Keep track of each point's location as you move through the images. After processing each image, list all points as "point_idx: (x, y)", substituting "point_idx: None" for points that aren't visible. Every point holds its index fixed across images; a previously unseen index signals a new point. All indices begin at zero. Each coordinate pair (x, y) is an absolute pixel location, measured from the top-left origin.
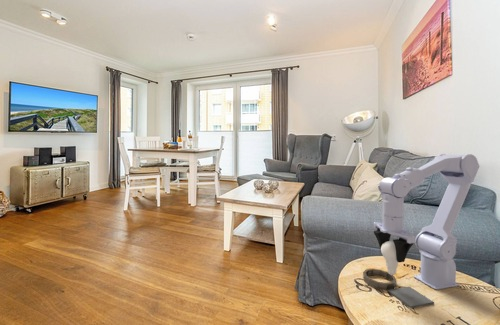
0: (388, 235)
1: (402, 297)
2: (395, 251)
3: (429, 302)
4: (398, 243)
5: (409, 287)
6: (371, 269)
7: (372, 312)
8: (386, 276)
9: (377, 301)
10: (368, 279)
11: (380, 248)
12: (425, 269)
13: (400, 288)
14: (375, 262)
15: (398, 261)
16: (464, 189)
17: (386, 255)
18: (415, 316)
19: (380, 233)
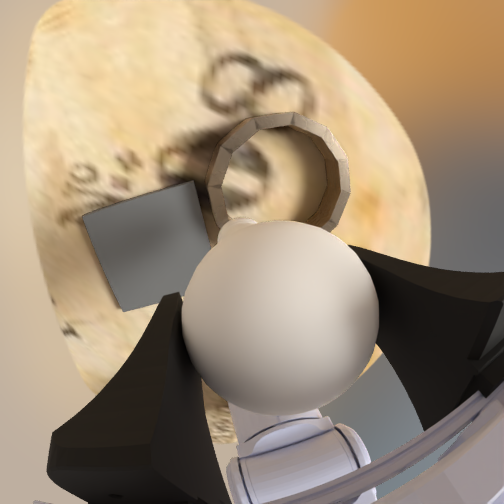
0: (422, 394)
1: (136, 215)
2: (191, 339)
3: (117, 297)
4: (54, 448)
5: None
6: (344, 184)
7: (63, 54)
8: None
9: (123, 96)
10: (262, 116)
11: (368, 252)
12: None
13: (205, 243)
14: (401, 249)
15: (162, 297)
16: None
17: (229, 236)
18: (45, 206)
19: (478, 341)
